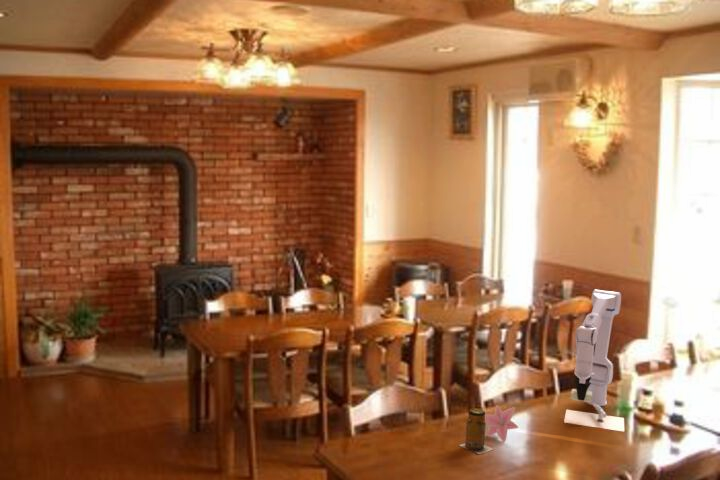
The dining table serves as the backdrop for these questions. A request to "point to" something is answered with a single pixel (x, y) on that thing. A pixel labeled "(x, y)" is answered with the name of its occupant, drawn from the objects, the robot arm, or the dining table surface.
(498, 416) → the lily
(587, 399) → the cover
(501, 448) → the dining table surface
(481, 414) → the condiment
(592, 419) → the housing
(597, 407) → the t key
